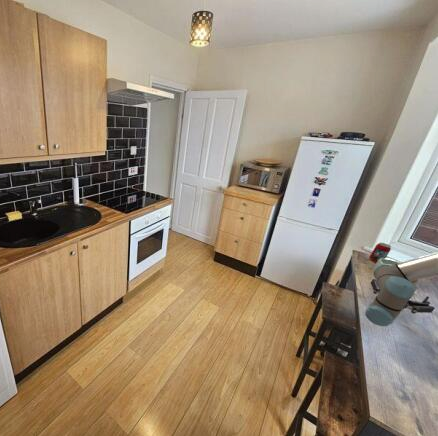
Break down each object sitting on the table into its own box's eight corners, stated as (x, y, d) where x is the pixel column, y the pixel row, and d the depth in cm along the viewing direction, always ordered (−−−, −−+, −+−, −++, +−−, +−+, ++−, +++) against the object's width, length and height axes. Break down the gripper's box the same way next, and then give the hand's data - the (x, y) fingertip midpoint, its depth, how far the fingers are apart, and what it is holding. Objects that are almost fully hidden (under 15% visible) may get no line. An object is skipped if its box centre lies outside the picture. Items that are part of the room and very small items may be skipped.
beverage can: (371, 262, 146) (381, 246, 141) (366, 256, 152) (375, 241, 147) (384, 264, 144) (394, 248, 139) (378, 259, 150) (388, 243, 145)
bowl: (410, 278, 133) (417, 269, 130) (403, 285, 126) (409, 276, 123) (378, 264, 144) (383, 255, 141) (369, 270, 137) (375, 261, 134)
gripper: (350, 292, 107) (368, 279, 117) (427, 334, 88) (440, 314, 98) (358, 279, 104) (375, 267, 114) (439, 320, 85) (451, 301, 95)
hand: (405, 289), depth 106 cm, fingers open, 13 cm apart
